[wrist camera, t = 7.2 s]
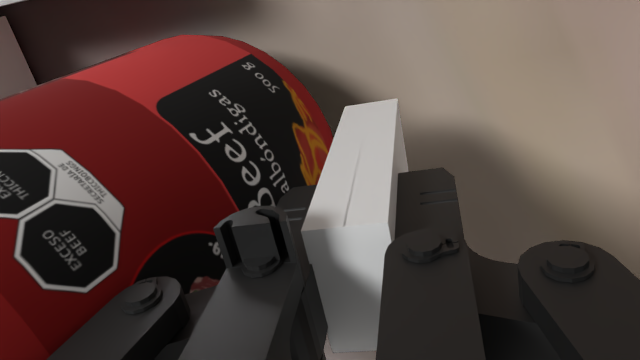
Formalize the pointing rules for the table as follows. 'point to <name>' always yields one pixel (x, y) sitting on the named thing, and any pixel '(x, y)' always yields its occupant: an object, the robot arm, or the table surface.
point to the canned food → (140, 176)
